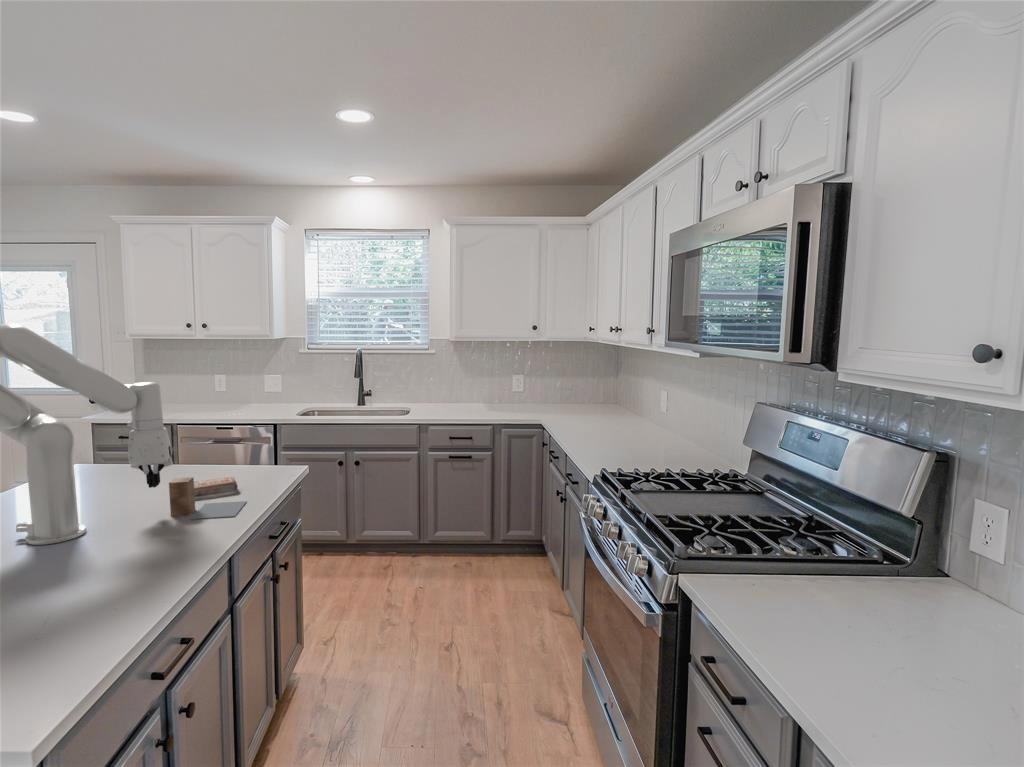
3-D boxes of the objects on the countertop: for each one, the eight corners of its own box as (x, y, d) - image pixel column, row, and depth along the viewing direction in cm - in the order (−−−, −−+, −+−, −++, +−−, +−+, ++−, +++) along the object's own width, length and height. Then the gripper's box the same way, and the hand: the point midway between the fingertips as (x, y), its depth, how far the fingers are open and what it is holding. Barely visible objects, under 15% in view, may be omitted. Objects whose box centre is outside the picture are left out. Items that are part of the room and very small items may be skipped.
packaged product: (233, 473, 197) (238, 480, 189) (234, 487, 197) (239, 495, 189) (173, 481, 187) (175, 489, 179) (174, 496, 188) (176, 504, 179)
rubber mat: (189, 519, 164) (189, 518, 164) (205, 504, 178) (205, 503, 178) (234, 516, 167) (234, 515, 167) (246, 502, 180) (246, 501, 180)
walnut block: (170, 516, 167) (168, 482, 166) (177, 510, 172) (175, 478, 171) (189, 515, 168) (187, 481, 167) (195, 509, 173) (193, 477, 172)
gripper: (113, 428, 161) (119, 492, 163) (171, 426, 164) (177, 488, 166) (125, 423, 168) (131, 484, 170) (181, 421, 171) (186, 480, 173)
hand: (154, 486), depth 168 cm, fingers closed
